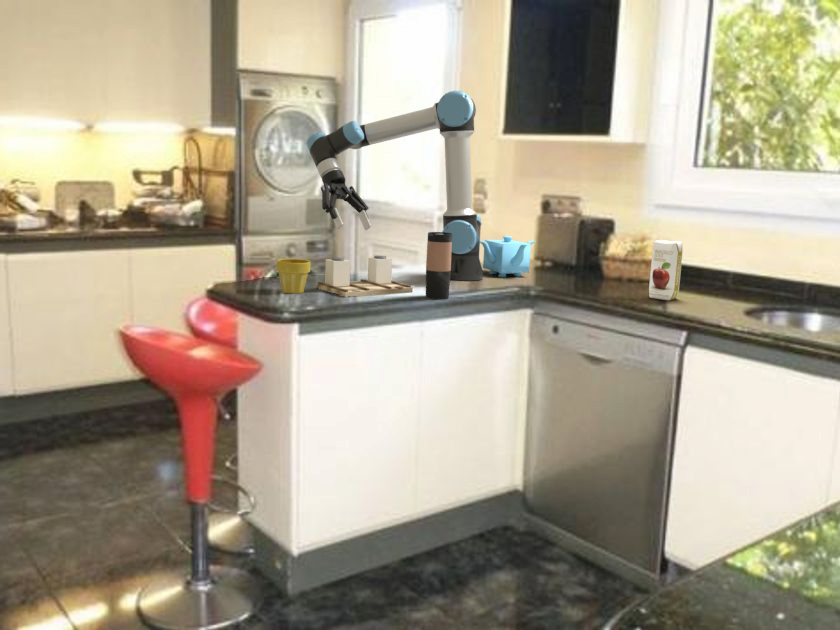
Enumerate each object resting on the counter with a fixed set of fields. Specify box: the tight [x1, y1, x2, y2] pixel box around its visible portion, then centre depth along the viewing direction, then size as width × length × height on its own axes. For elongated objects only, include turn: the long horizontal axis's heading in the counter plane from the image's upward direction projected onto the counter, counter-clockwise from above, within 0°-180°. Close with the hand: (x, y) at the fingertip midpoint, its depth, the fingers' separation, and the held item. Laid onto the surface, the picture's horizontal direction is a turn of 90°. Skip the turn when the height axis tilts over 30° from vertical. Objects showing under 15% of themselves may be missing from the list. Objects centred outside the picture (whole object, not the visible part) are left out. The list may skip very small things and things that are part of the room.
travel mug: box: [425, 231, 452, 300], centre depth 258 cm, size 8×8×20 cm
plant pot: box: [276, 258, 311, 294], centre depth 258 cm, size 10×10×10 cm
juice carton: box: [648, 239, 684, 301], centre depth 275 cm, size 8×9×19 cm
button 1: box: [324, 256, 351, 287], centre depth 264 cm, size 5×6×9 cm
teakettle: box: [480, 235, 536, 278], centre depth 314 cm, size 19×19×15 cm
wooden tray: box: [315, 278, 414, 298], centre depth 267 cm, size 18×25×2 cm
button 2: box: [367, 255, 393, 284], centre depth 274 cm, size 5×6×9 cm
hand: (354, 227), depth 281 cm, fingers open, 13 cm apart
